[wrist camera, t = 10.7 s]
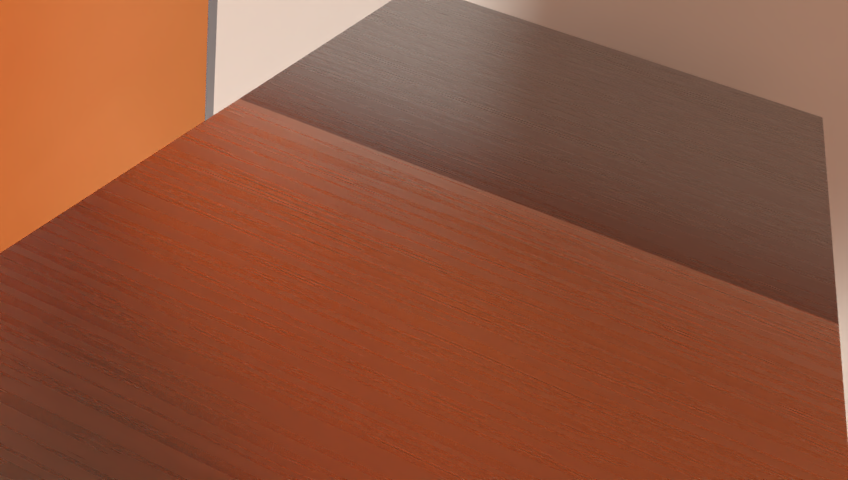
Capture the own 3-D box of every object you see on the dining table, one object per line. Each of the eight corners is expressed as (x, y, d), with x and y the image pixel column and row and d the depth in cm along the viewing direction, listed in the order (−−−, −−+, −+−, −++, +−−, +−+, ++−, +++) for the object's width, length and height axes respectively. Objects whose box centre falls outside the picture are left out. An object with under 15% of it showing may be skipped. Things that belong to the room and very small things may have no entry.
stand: (798, 485, 19) (798, 637, 15) (275, 264, 21) (185, 356, 18) (1292, -166, 10) (1509, -124, 7) (341, -387, 13) (198, -426, 10)
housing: (822, 117, 9) (893, 1034, 3) (617, 495, 13) (450, 1207, 7) (415, -16, 10) (-251, 415, 4) (343, 374, 14) (-27, 896, 8)
